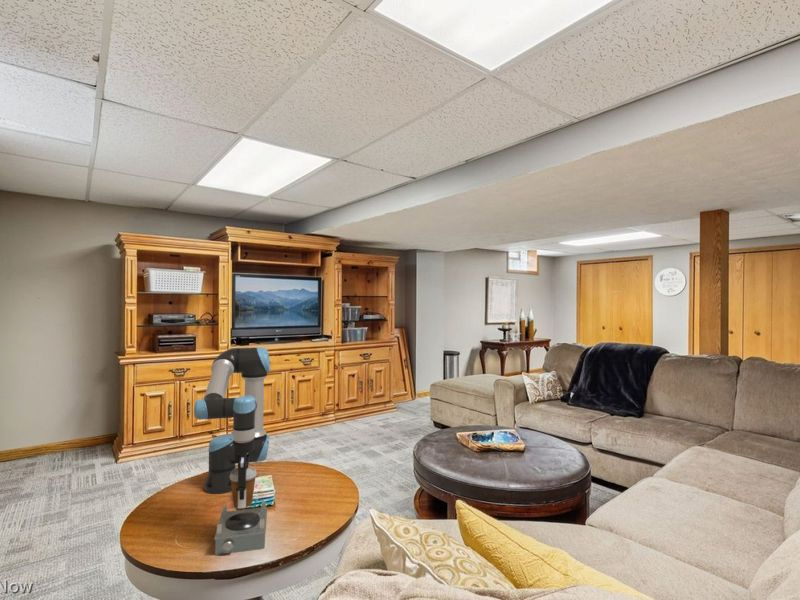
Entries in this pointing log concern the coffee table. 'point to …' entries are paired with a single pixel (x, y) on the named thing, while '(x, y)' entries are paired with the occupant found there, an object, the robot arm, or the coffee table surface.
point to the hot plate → (241, 530)
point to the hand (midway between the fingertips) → (242, 501)
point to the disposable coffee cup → (250, 483)
